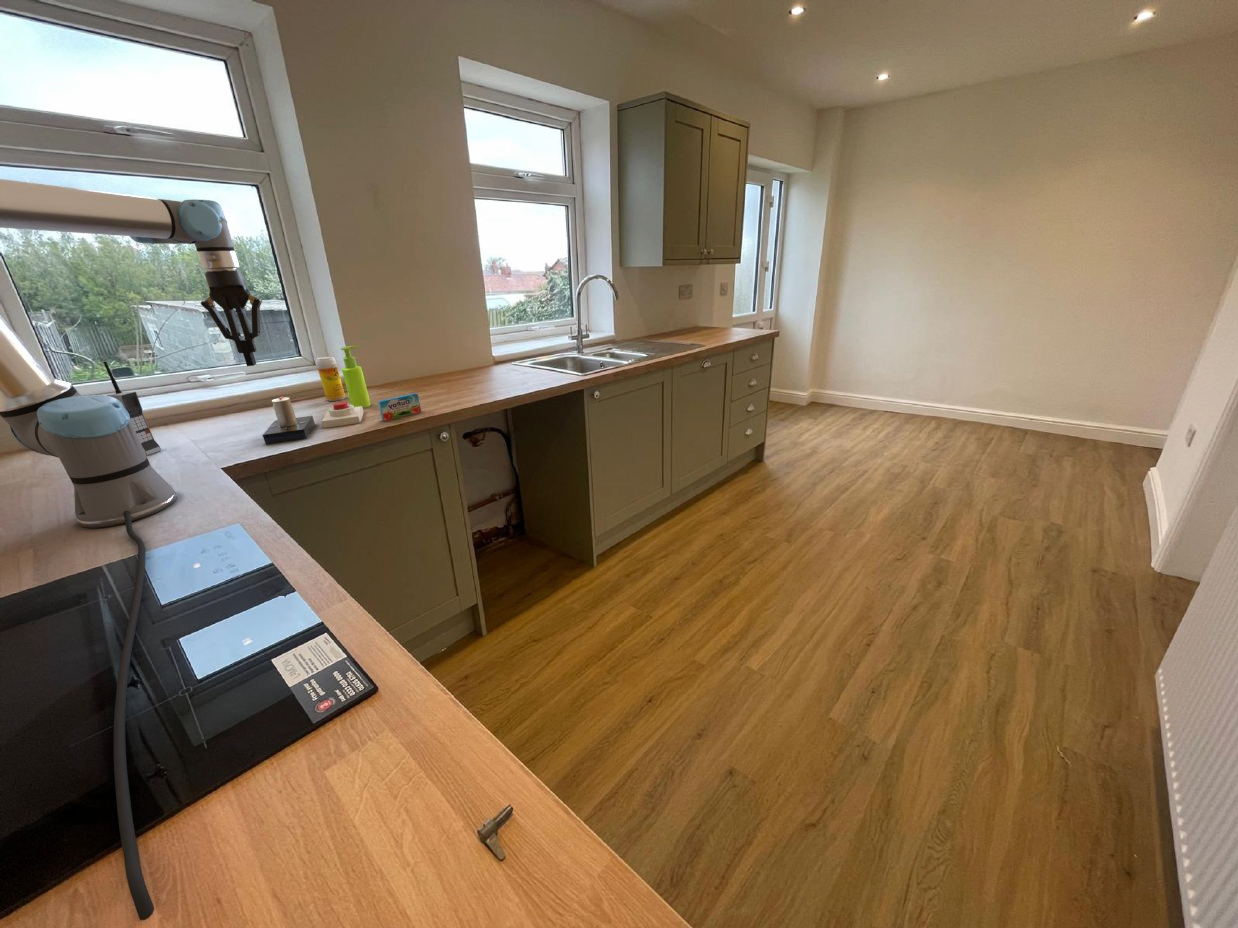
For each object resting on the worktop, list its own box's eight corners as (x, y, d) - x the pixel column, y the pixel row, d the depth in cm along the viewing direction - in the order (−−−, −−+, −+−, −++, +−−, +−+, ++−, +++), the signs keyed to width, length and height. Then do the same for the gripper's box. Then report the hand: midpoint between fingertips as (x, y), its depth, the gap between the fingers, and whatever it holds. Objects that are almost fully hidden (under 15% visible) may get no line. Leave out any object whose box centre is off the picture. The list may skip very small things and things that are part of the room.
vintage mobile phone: (147, 455, 134) (105, 363, 124) (133, 455, 135) (90, 363, 125) (162, 450, 138) (122, 359, 128) (147, 449, 139) (107, 359, 129)
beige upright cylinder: (295, 425, 143) (287, 399, 140) (278, 428, 142) (269, 401, 139) (298, 421, 147) (290, 395, 144) (281, 423, 146) (273, 397, 142)
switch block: (360, 423, 153) (356, 410, 151) (323, 428, 150) (319, 415, 148) (363, 412, 163) (360, 400, 162) (329, 417, 160) (326, 405, 158)
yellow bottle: (340, 401, 178) (328, 359, 172) (323, 402, 178) (311, 359, 172) (348, 396, 183) (337, 355, 177) (332, 397, 183) (321, 356, 177)
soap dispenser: (377, 404, 172) (362, 345, 164) (358, 409, 166) (342, 349, 159) (367, 402, 175) (352, 344, 167) (348, 407, 169) (332, 348, 162)
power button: (347, 409, 154) (346, 404, 153) (333, 411, 153) (331, 406, 152) (349, 406, 157) (347, 401, 157) (335, 408, 156) (333, 402, 155)
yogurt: (384, 421, 153) (379, 402, 151) (382, 420, 154) (377, 401, 151) (421, 412, 161) (417, 393, 158) (419, 411, 162) (415, 392, 159)
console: (306, 439, 141) (303, 428, 140) (265, 445, 138) (262, 434, 137) (315, 424, 153) (312, 415, 152) (277, 430, 150) (274, 420, 149)
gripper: (184, 271, 119) (217, 370, 128) (248, 269, 123) (276, 365, 132) (196, 271, 126) (227, 365, 135) (257, 269, 130) (283, 360, 139)
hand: (251, 365), depth 133 cm, fingers closed
